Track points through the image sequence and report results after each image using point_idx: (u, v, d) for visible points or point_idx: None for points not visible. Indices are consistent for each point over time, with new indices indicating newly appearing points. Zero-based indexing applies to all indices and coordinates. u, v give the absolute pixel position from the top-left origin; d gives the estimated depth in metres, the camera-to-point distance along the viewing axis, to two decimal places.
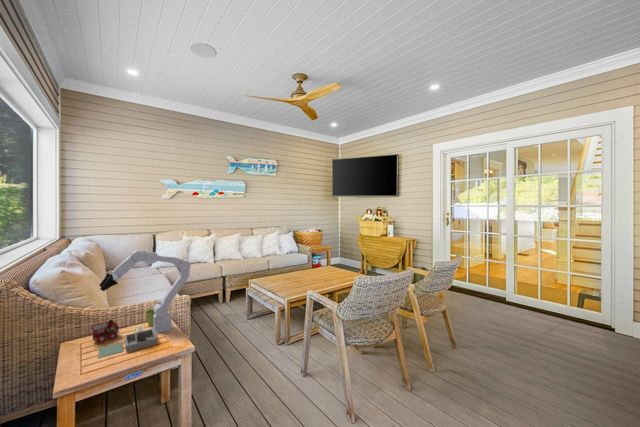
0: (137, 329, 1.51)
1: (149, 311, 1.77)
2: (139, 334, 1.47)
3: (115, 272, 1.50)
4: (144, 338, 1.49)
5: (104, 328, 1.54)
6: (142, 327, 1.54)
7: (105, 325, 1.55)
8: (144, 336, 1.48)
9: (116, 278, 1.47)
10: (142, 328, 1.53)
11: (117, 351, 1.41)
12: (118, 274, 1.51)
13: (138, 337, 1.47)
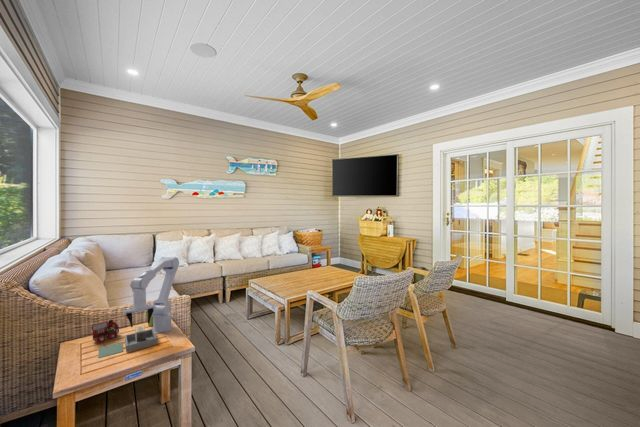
0: (137, 329, 1.51)
1: None
2: (139, 334, 1.47)
3: (145, 306, 1.51)
4: (144, 338, 1.49)
5: (104, 328, 1.54)
6: (142, 327, 1.54)
7: (105, 325, 1.55)
8: (144, 336, 1.48)
9: None
10: (142, 328, 1.53)
11: (117, 351, 1.41)
12: None
13: (138, 337, 1.47)
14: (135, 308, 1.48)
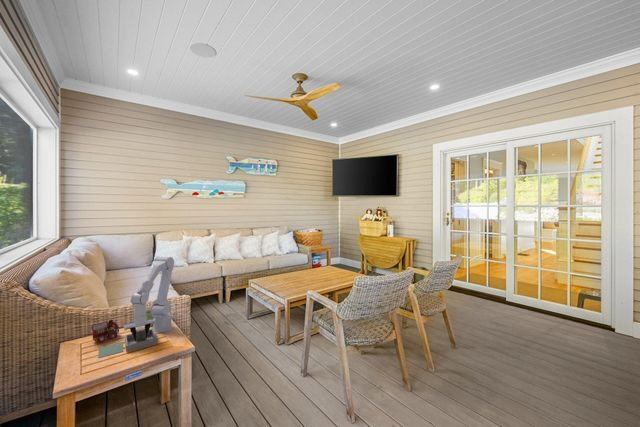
0: (137, 329, 1.51)
1: (149, 311, 1.77)
2: (139, 334, 1.47)
3: (145, 321, 1.51)
4: (144, 338, 1.49)
5: (104, 328, 1.54)
6: (142, 327, 1.54)
7: (105, 325, 1.55)
8: (144, 336, 1.48)
9: (155, 320, 1.55)
10: (142, 328, 1.53)
11: (117, 351, 1.41)
12: None
13: (138, 337, 1.47)
14: (135, 323, 1.48)
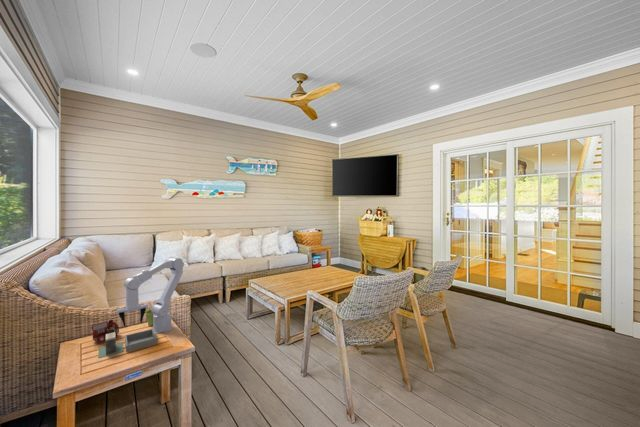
0: (107, 336, 1.43)
1: (149, 311, 1.77)
2: (108, 341, 1.39)
3: (137, 306, 1.54)
4: (114, 345, 1.40)
5: (104, 328, 1.54)
6: (113, 333, 1.46)
7: (105, 325, 1.55)
8: (114, 343, 1.40)
9: (147, 305, 1.58)
10: (113, 335, 1.44)
11: (117, 351, 1.41)
12: (138, 304, 1.55)
13: (107, 344, 1.39)
14: (128, 308, 1.51)
